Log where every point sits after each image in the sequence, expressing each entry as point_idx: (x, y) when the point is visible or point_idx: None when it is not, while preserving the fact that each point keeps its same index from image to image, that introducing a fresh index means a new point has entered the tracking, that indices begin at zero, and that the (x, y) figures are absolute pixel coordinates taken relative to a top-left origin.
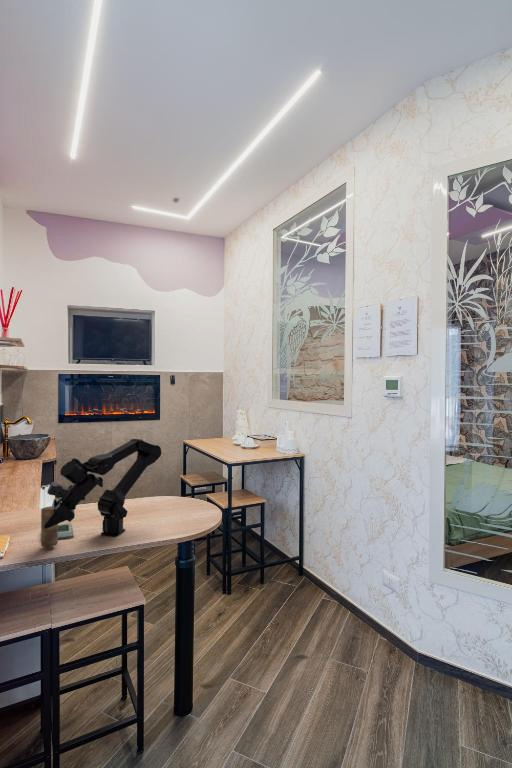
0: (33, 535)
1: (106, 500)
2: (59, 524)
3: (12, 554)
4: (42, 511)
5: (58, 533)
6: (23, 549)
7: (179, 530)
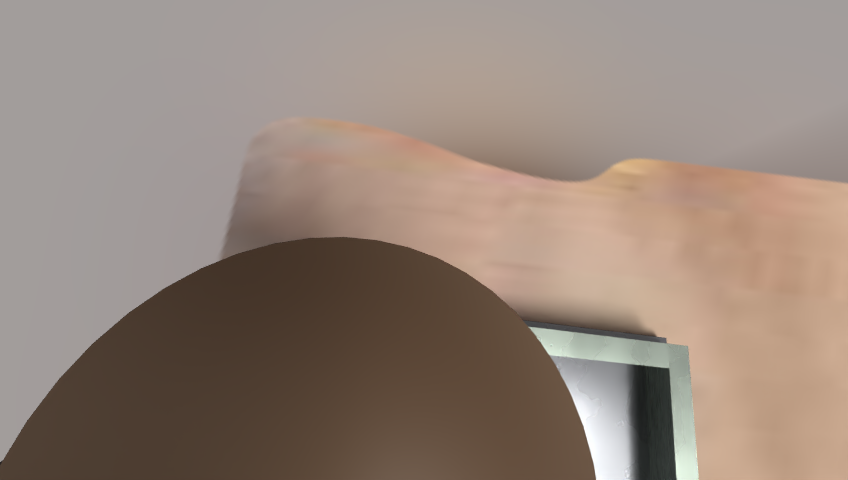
0: (611, 279)
1: None
2: (695, 459)
3: (376, 150)
4: (245, 259)
5: None
6: (421, 207)
7: None
